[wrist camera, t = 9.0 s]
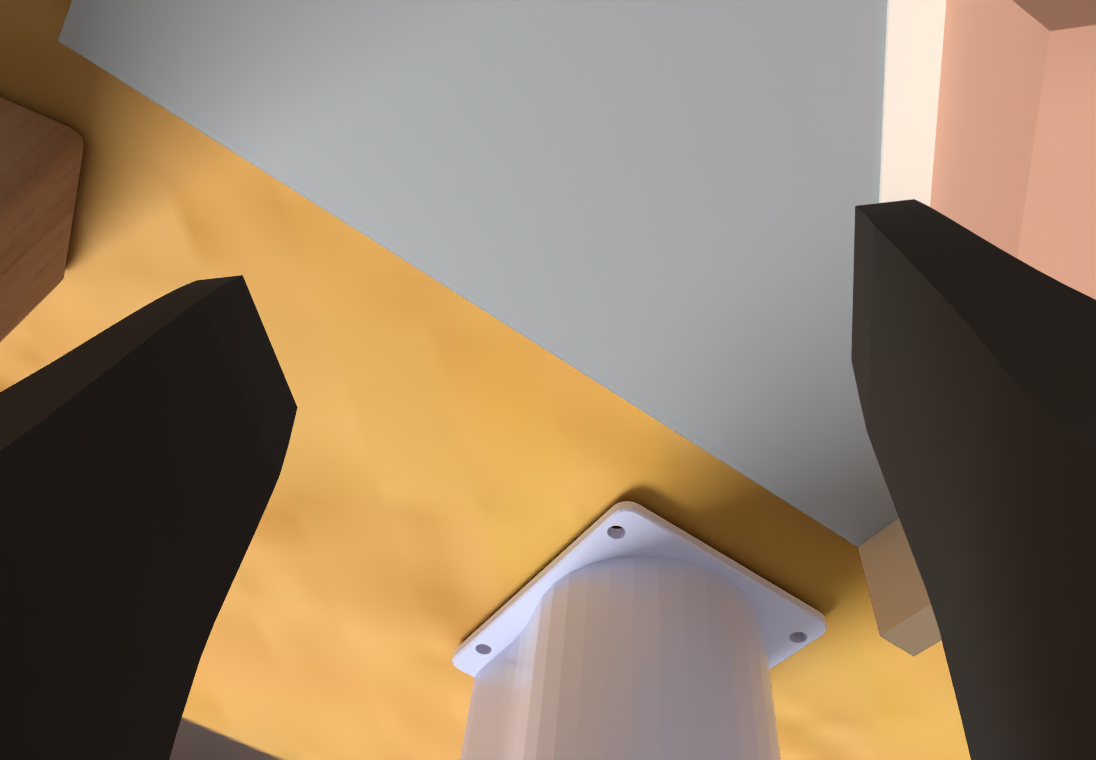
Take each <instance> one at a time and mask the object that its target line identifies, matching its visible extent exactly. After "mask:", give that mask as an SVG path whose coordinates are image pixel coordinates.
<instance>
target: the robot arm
mask: <svg viewBox="0 0 1096 760" xmlns="http://www.w3.org/2000/svg"><path fill="white" fill-rule="evenodd" d="M851 361H852V366H853V371H854V375H855V380H856V385H857V390H858V394H859V399H860V404H861V408H862V412H863V417H864V421H865V426H866V430H867V433H868V436H869V439H870V442H871V444H872V447H873V450H874V453H875V455H876V458H877V461H878V463H879V466H880V469H881V471H882V474H883V477H884V480H885V482H886V485H887V488H888V490H889V493H890V496H891V498H892V501H893V503H894V506H895V509H896V511H897V514H898V517H899V519H900V522H901V525H902V527H903V530H904V533H905V535H906V538H907V540H908V543H909V546H910V548H911V551H912V554H913V556H914V559H915V562H916V564H917V567H918V570H919V572H920V575H921V578H922V580H923V583H924V585H925V588H926V591H927V594H928V597H929V600H930V603H931V606H932V609H933V612H934V615H935V619H936V622H937V625H938V628H939V632H940V635H941V639H942V643H943V647H944V651H945V655H946V659H947V663H948V667H949V671H950V675H951V679H952V683H953V687H954V691H955V695H956V699H957V703H958V707H959V711H960V715H961V719H962V723H963V727H964V732H965V736H966V740H967V744H968V748H969V753H970V757H971V760H1096V300H1095V299H1093V298H1091V297H1089V296H1087V295H1085V294H1083V293H1081V292H1079V291H1077V290H1075V289H1073V288H1071V287H1069V286H1067V285H1065V284H1063V283H1061V282H1059V281H1057V280H1055V279H1054V278H1052V277H1050V276H1048V275H1046V274H1044V273H1042V272H1040V271H1039V270H1037V269H1035V268H1033V267H1031V266H1030V265H1028V264H1026V263H1024V262H1022V261H1021V260H1019V259H1017V258H1015V257H1014V256H1012V255H1010V254H1008V253H1007V252H1005V251H1003V250H1002V249H1000V248H998V247H997V246H995V245H993V244H991V243H990V242H988V241H986V240H985V239H983V238H981V237H980V236H978V235H976V234H975V233H973V232H971V231H970V230H968V229H966V228H965V227H963V226H961V225H960V224H958V223H956V222H955V221H953V220H952V219H950V218H948V217H946V216H945V215H943V214H941V213H940V212H938V211H936V210H935V209H933V208H931V207H929V206H927V205H925V204H924V203H921V202H919V201H917V200H915V199H911V200H902V201H893V202H885V203H876V204H867V205H858V206H855V232H854V272H853V311H852V350H851ZM296 411H297V406H296V403H295V401H294V398H293V396H292V393H291V391H290V389H289V386H288V384H287V381H286V379H285V377H284V374H283V372H282V369H281V367H280V365H279V362H278V360H277V357H276V355H275V352H274V350H273V348H272V345H271V343H270V340H269V338H268V336H267V333H266V331H265V328H264V326H263V324H262V321H261V319H260V316H259V314H258V311H257V309H256V307H255V304H254V302H253V299H252V297H251V295H250V292H249V290H248V287H247V285H246V283H245V280H244V278H243V275H241V276H232V277H224V278H215V279H206V280H197V281H195V282H192V283H190V284H187V285H185V286H183V287H180V288H178V289H176V290H174V291H172V292H170V293H168V294H166V295H164V296H162V297H161V298H159V299H157V300H155V301H153V302H152V303H150V304H148V305H146V306H144V307H143V308H141V309H139V310H138V311H136V312H134V313H132V314H131V315H129V316H127V317H126V318H124V319H122V320H121V321H119V322H118V323H116V324H114V325H113V326H111V327H109V328H108V329H106V330H104V331H103V332H101V333H99V334H98V335H96V336H95V337H93V338H91V339H90V340H88V341H86V342H85V343H83V344H81V345H80V346H78V347H77V348H75V349H73V350H72V351H70V352H68V353H67V354H65V355H63V356H62V357H60V358H59V359H57V360H55V361H54V362H52V363H50V364H49V365H47V366H45V367H44V368H42V369H40V370H38V371H37V372H35V373H33V374H31V375H30V376H28V377H26V378H24V379H23V380H21V381H19V382H18V383H16V384H14V385H12V386H11V387H9V388H7V389H5V390H4V391H2V392H0V760H169V759H170V755H171V751H172V748H173V744H174V740H175V737H176V733H177V730H178V727H179V724H180V721H181V717H182V714H183V711H184V708H185V705H186V702H187V699H188V695H189V692H190V689H191V686H192V683H193V680H194V676H195V673H196V670H197V667H198V664H199V661H200V658H201V655H202V653H203V650H204V648H205V645H206V642H207V640H208V637H209V635H210V632H211V630H212V627H213V625H214V622H215V620H216V618H217V616H218V613H219V611H220V609H221V607H222V605H223V602H224V600H225V598H226V596H227V593H228V591H229V589H230V587H231V584H232V582H233V580H234V578H235V576H236V573H237V571H238V569H239V567H240V564H241V562H242V560H243V558H244V556H245V553H246V551H247V549H248V547H249V545H250V542H251V540H252V538H253V536H254V533H255V531H256V529H257V527H258V524H259V522H260V520H261V518H262V515H263V513H264V511H265V508H266V506H267V504H268V501H269V499H270V497H271V495H272V492H273V490H274V487H275V485H276V483H277V480H278V478H279V475H280V472H281V469H282V465H283V462H284V458H285V455H286V451H287V448H288V444H289V440H290V436H291V432H292V428H293V424H294V419H295V415H296ZM612 526H620V527H622V528H620V529H615V528H611V527H612ZM826 628H827V626H826V621H825V617H824V615H823V614H822V613H821V612H819V611H817V610H816V609H814V608H812V607H811V606H809V605H807V604H806V603H804V602H802V601H801V600H799V599H797V598H796V597H794V596H792V595H791V594H789V593H787V592H786V591H784V590H782V589H780V588H779V587H777V586H775V585H774V584H772V583H770V582H769V581H767V580H765V579H764V578H762V577H760V576H759V575H757V574H755V573H754V572H752V571H750V570H749V569H747V568H745V567H744V566H742V565H740V564H738V563H737V562H735V561H733V560H732V559H730V558H728V557H727V556H725V555H723V554H722V553H720V552H718V551H717V550H715V549H713V548H712V547H710V546H708V545H707V544H705V543H703V542H702V541H700V540H698V539H696V538H695V537H693V536H691V535H690V534H688V533H686V532H685V531H683V530H681V529H680V528H678V527H676V526H675V525H673V524H671V523H670V522H668V521H666V520H665V519H663V518H661V517H660V516H658V515H656V514H654V513H653V512H651V511H649V510H648V509H646V508H644V507H643V506H641V505H639V504H637V503H635V502H631V501H623V502H619V503H617V504H615V505H614V506H613V507H612V508H610V509H609V510H608V511H607V512H606V513H605V514H604V515H603V516H602V517H601V518H599V519H598V520H597V521H596V522H595V523H594V524H593V525H592V526H591V527H589V528H588V529H587V530H586V531H585V532H584V533H583V534H582V535H581V536H580V537H578V538H577V539H576V540H575V541H574V542H573V543H572V544H571V545H570V546H569V547H567V548H566V549H565V550H564V551H563V552H562V553H561V554H560V555H559V556H557V557H556V558H555V559H554V560H553V561H552V562H551V563H550V564H549V565H548V566H546V567H545V568H544V569H543V570H542V571H541V572H540V573H539V574H538V575H537V576H535V577H534V578H533V579H532V580H531V581H530V582H529V583H528V584H527V585H526V586H524V587H523V588H522V589H521V590H520V591H519V592H518V593H517V594H516V595H514V596H513V597H512V598H511V599H510V600H509V601H508V602H507V603H506V604H505V605H503V606H502V607H501V608H500V609H499V610H498V611H497V612H496V613H495V614H494V615H492V616H491V617H490V618H489V619H488V620H487V621H486V622H485V623H484V624H483V625H481V626H480V627H479V628H478V629H477V630H476V631H475V632H474V633H473V634H471V635H470V636H469V637H468V638H467V639H466V640H465V641H464V642H463V643H462V644H460V645H459V646H458V647H457V648H456V649H455V651H454V654H453V664H454V666H455V667H456V668H458V669H459V670H461V671H463V672H465V673H467V674H469V675H471V676H473V677H475V678H474V684H473V690H472V695H471V701H470V707H469V712H468V718H467V724H466V729H465V735H464V740H463V746H462V752H461V757H460V760H781V758H780V750H779V742H778V734H777V727H776V719H775V711H774V703H773V695H772V687H771V679H770V671H769V670H770V669H771V668H773V667H774V666H776V665H777V664H779V663H780V662H782V661H783V660H785V659H786V658H788V657H790V656H791V655H793V654H794V653H796V652H797V651H799V650H800V649H802V648H803V647H805V646H806V645H808V644H809V643H811V642H812V641H814V640H815V639H817V638H818V637H820V636H821V635H823V634H824V633H825V632H826Z"/></svg>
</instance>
